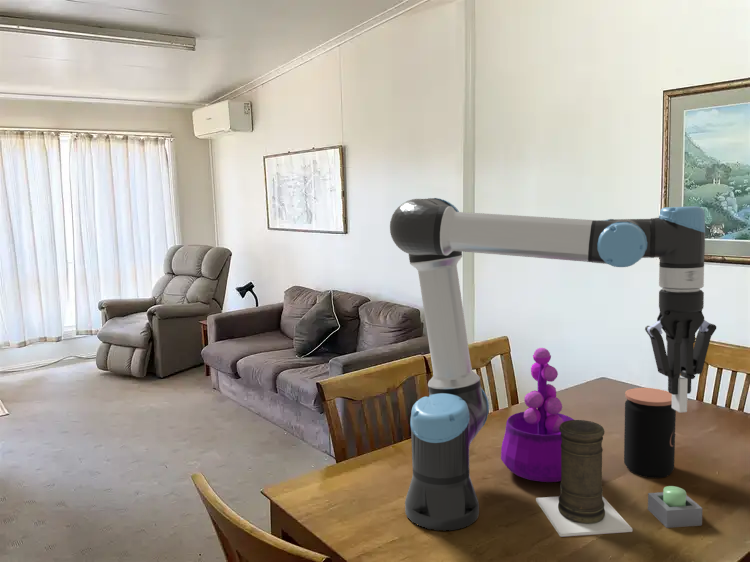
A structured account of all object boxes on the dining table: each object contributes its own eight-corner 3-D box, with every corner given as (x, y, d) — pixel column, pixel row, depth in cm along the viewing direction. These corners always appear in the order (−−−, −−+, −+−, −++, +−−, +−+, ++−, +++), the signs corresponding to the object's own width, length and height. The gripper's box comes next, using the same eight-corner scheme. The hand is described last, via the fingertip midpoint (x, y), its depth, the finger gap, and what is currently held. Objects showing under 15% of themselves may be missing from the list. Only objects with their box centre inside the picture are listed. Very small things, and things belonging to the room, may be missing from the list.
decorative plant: (491, 459, 147) (490, 341, 143) (564, 454, 149) (564, 336, 145) (516, 496, 128) (515, 361, 125) (599, 489, 130) (600, 355, 126)
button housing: (666, 527, 114) (667, 510, 114) (647, 509, 121) (648, 493, 121) (701, 525, 114) (702, 508, 114) (681, 507, 121) (681, 490, 121)
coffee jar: (680, 480, 133) (682, 402, 130) (629, 478, 135) (630, 401, 133) (666, 460, 143) (668, 388, 141) (619, 458, 145) (620, 386, 143)
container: (600, 528, 113) (601, 438, 111) (552, 517, 118) (552, 430, 116) (609, 507, 121) (610, 422, 119) (564, 497, 126) (564, 415, 124)
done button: (670, 518, 116) (670, 496, 115) (658, 508, 120) (659, 486, 119) (689, 516, 116) (690, 495, 115) (678, 506, 120) (678, 485, 119)
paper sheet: (560, 536, 112) (560, 533, 112) (535, 500, 126) (535, 497, 126) (632, 531, 113) (632, 528, 113) (600, 496, 127) (600, 493, 127)
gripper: (658, 293, 108) (656, 418, 111) (727, 289, 109) (724, 414, 111) (637, 288, 115) (636, 405, 118) (702, 284, 116) (700, 401, 119)
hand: (679, 409), depth 115 cm, fingers closed
